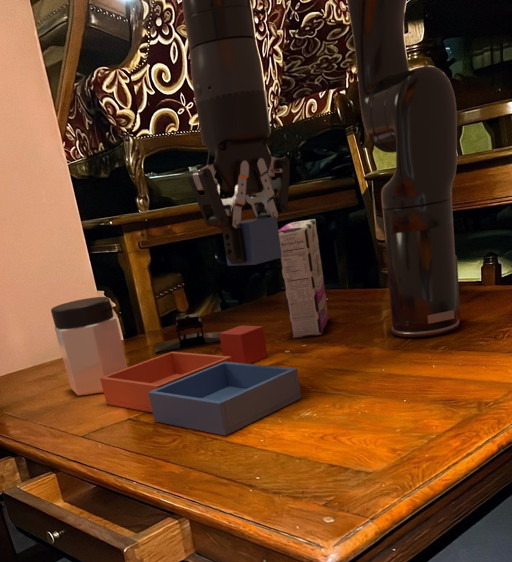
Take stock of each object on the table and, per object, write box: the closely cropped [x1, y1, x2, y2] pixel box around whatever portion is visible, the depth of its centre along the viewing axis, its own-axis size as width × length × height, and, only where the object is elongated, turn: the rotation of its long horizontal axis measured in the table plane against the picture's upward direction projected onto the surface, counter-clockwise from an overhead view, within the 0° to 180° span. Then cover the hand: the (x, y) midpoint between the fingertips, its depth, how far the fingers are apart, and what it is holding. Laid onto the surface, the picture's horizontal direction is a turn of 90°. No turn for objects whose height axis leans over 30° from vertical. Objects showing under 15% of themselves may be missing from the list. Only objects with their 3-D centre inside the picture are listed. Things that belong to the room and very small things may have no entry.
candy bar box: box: [278, 218, 330, 339], centre depth 109 cm, size 11×5×16 cm, turn 168°
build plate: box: [154, 312, 225, 355], centre depth 116 cm, size 12×7×5 cm, turn 95°
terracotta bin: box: [100, 351, 232, 414], centre depth 90 cm, size 12×12×4 cm
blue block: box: [225, 217, 282, 267], centre depth 79 cm, size 4×4×4 cm
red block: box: [219, 325, 268, 364], centre depth 99 cm, size 4×4×4 cm
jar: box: [50, 296, 129, 396], centre depth 98 cm, size 9×8×12 cm
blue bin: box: [148, 362, 302, 437], centre depth 79 cm, size 12×12×4 cm
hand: (254, 258), depth 79 cm, fingers closed on blue block, 4 cm apart
